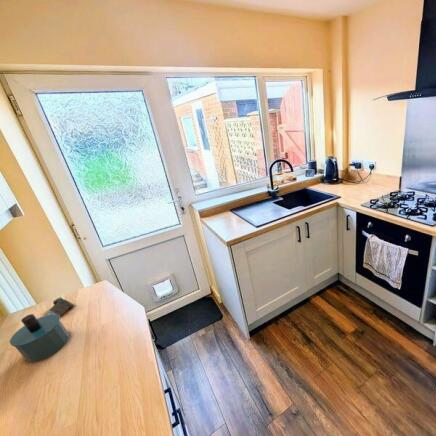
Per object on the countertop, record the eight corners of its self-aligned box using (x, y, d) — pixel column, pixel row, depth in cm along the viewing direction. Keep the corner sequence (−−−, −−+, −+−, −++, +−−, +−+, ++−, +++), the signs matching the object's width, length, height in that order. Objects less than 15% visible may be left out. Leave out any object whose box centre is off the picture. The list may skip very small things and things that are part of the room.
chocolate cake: (39, 316, 108) (36, 308, 100) (53, 302, 113) (51, 293, 105) (62, 325, 110) (60, 318, 102) (75, 310, 115) (74, 302, 107)
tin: (32, 368, 84) (18, 351, 80) (21, 353, 90) (7, 337, 86) (74, 339, 93) (64, 323, 90) (62, 327, 99) (51, 312, 96)
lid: (18, 354, 80) (6, 340, 77) (6, 338, 87) (-5, 325, 84) (67, 323, 90) (58, 310, 87) (53, 312, 97) (44, 299, 94)
